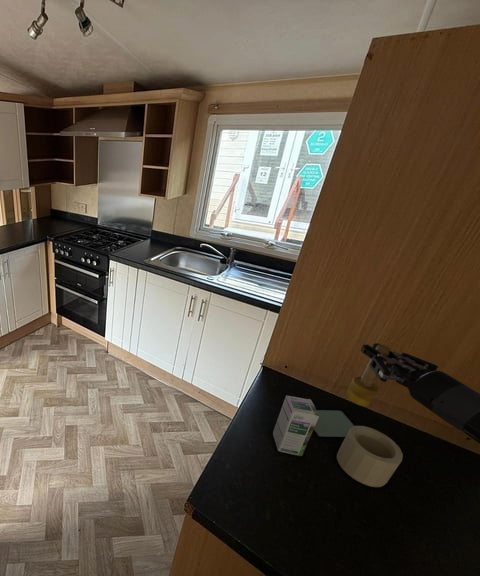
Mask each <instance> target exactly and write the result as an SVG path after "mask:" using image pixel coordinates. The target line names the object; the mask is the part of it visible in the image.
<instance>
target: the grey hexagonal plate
mask: <svg viewBox="0 0 480 576" xmlns="http://www.w3.org/2000/svg"><path fill="white" fill-rule="evenodd" d="M316 410H317V412H318V415H319V418H318V420H317V423H316V425H315V427H314V430H313V431H314V432H315V433H316V435H317V436H318V437H321V438H322V437H324V438H329V437H330V438H345V437H346V435H347V434H348V432H349V430H350V428H352V427H354V426H355V425H354V423H352V421H351V420H350V419H349V418H348V417H347V416H346V415H345V413H344V412H343V411H342V410H329V409H328V410H325V409H316Z"/></svg>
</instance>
